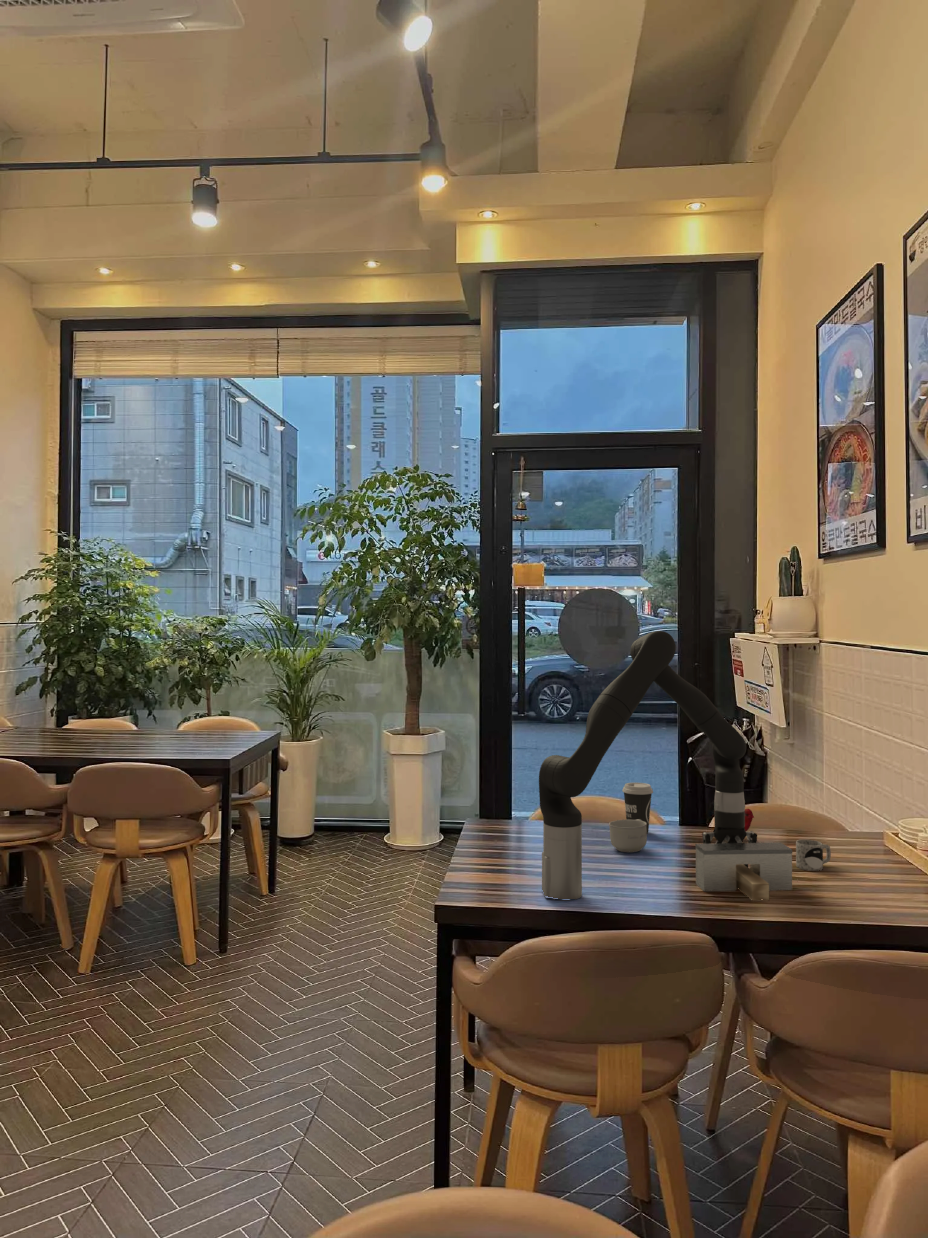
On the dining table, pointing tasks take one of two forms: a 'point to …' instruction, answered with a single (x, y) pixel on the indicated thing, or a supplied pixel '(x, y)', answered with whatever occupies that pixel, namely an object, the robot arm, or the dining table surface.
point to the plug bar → (751, 883)
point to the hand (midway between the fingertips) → (729, 872)
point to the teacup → (628, 835)
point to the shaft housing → (722, 858)
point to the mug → (811, 855)
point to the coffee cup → (638, 801)
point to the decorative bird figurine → (748, 818)
